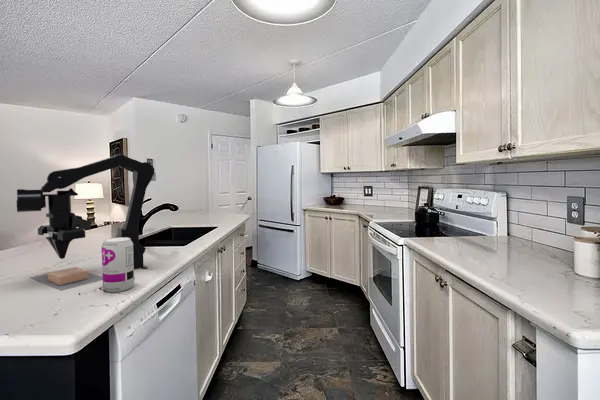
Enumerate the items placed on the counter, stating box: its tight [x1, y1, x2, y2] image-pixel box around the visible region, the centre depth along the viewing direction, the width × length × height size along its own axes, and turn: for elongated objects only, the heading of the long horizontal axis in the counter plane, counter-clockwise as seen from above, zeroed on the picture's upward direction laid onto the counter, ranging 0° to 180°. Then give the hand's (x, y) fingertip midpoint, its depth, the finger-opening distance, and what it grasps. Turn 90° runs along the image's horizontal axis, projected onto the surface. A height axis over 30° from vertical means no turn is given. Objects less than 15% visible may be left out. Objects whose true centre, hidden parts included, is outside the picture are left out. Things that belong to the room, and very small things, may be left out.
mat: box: [29, 272, 103, 291], centre depth 102 cm, size 22×13×1 cm, turn 59°
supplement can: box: [101, 237, 135, 293], centre depth 95 cm, size 8×8×15 cm
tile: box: [46, 266, 90, 286], centre depth 100 cm, size 3×8×8 cm
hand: (62, 258), depth 101 cm, fingers closed
